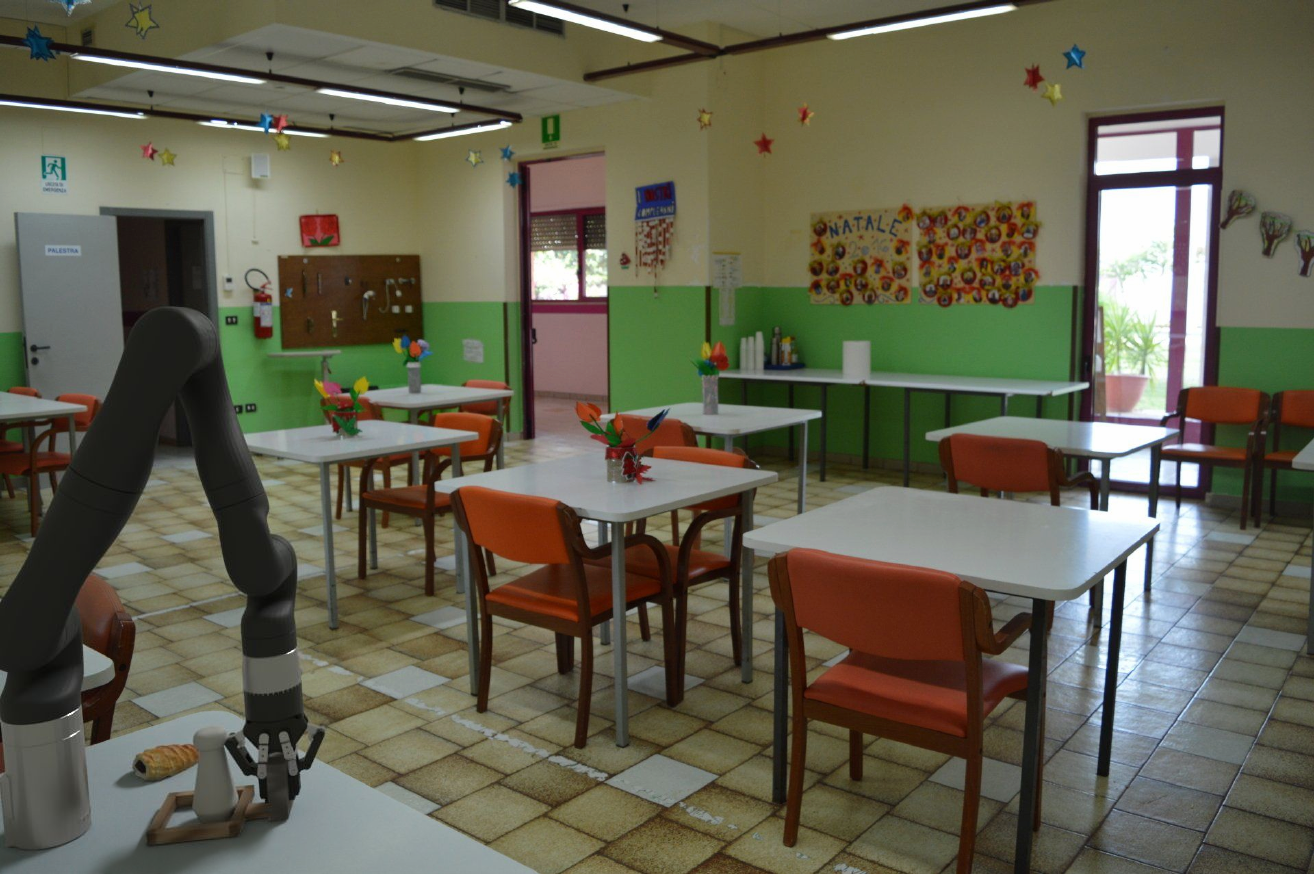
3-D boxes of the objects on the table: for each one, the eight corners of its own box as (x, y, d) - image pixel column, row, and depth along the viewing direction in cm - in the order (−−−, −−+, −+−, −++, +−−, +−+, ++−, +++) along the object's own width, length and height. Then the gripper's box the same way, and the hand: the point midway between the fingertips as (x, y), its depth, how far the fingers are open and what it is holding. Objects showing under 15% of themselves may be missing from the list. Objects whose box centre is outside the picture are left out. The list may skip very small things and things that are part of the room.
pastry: (189, 752, 160) (187, 729, 159) (210, 764, 156) (209, 741, 155) (128, 773, 152) (126, 750, 152) (149, 787, 148) (148, 763, 148)
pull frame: (146, 845, 131) (142, 787, 130) (169, 802, 142) (166, 749, 141) (284, 830, 135) (281, 774, 134) (296, 790, 146) (294, 738, 145)
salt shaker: (221, 831, 135) (213, 741, 133) (184, 827, 136) (176, 737, 134) (248, 810, 141) (241, 722, 139) (213, 805, 142) (205, 719, 140)
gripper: (212, 696, 132) (222, 818, 135) (322, 686, 135) (330, 806, 138) (224, 675, 140) (233, 792, 142) (328, 666, 143) (336, 780, 145)
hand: (281, 798), depth 140 cm, fingers closed on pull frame, 2 cm apart
